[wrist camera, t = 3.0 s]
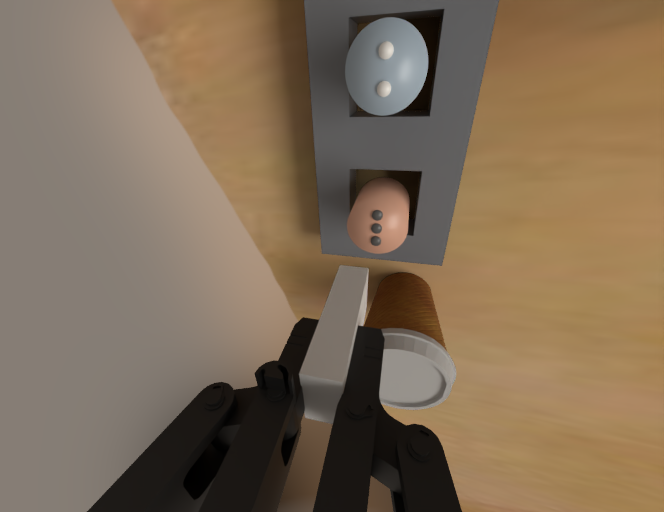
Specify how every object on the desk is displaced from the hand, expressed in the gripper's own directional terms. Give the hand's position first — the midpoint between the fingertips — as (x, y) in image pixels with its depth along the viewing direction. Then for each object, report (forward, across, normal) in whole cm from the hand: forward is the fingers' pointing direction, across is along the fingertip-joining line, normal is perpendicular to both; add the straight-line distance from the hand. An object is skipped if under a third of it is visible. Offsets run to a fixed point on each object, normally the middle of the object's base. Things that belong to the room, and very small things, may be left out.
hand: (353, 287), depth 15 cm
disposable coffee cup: (+16, +4, -13) cm, 21 cm away
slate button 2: (+12, 0, +10) cm, 16 cm away
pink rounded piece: (+13, 0, 0) cm, 13 cm away
